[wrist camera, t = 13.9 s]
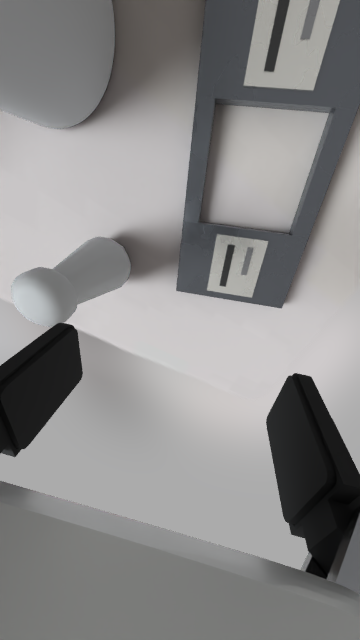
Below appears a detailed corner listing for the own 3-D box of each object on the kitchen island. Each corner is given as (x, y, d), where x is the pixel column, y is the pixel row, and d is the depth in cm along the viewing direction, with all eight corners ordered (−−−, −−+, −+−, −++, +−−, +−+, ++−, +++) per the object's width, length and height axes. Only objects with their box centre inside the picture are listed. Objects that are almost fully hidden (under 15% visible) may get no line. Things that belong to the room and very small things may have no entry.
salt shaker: (145, 253, 25) (83, 298, 14) (125, 290, 28) (60, 353, 17) (101, 223, 24) (-3, 245, 13) (84, 264, 27) (-12, 311, 16)
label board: (214, -53, 14) (213, -77, 13) (411, -51, 13) (431, -78, 12) (178, 287, 27) (175, 291, 25) (279, 303, 25) (282, 309, 24)
